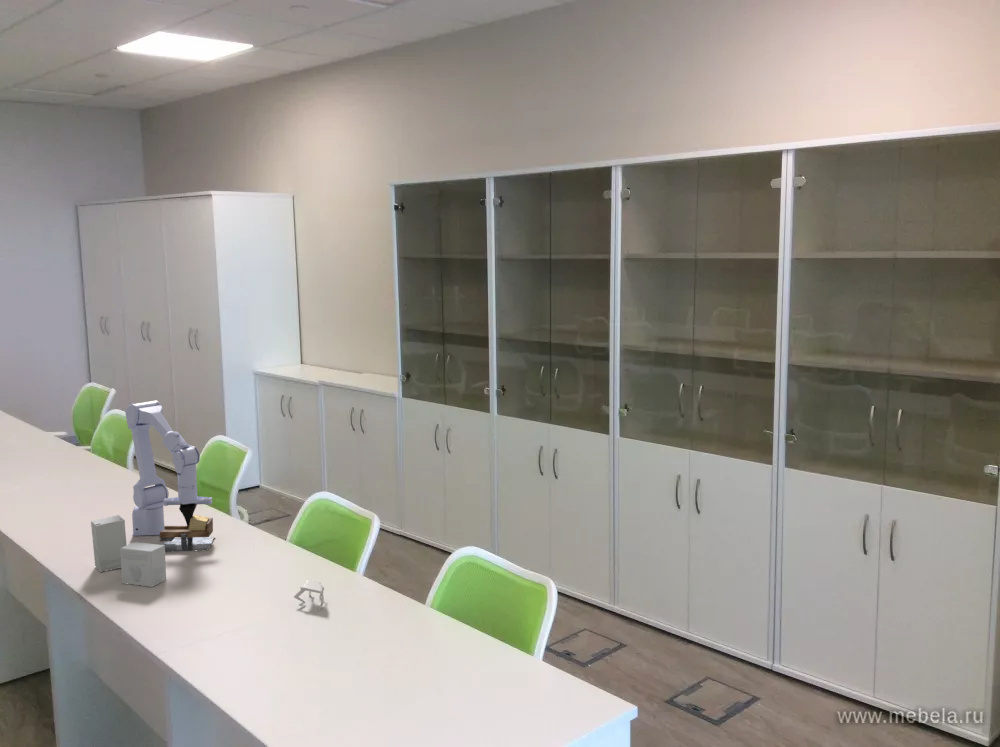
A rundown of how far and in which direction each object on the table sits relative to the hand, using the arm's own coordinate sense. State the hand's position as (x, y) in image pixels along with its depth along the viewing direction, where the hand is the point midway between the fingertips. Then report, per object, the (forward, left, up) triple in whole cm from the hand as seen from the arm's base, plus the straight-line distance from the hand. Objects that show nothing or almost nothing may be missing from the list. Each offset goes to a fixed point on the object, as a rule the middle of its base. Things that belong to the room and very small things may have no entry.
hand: (189, 526), depth 269 cm
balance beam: (-1, 0, -4) cm, 4 cm away
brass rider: (+3, 0, -1) cm, 3 cm away
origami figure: (+44, -50, -6) cm, 67 cm away
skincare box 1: (-18, -18, -6) cm, 27 cm away
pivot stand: (-1, 0, -6) cm, 6 cm away
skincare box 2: (-5, -30, -6) cm, 31 cm away
